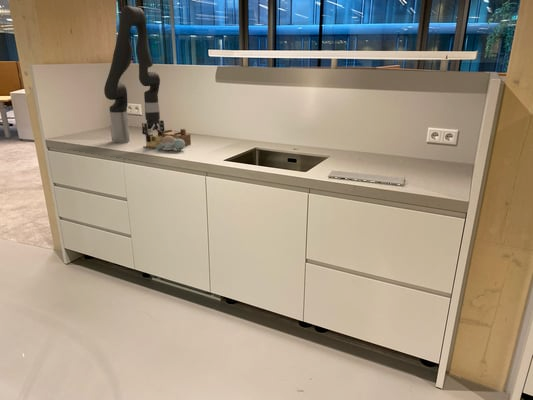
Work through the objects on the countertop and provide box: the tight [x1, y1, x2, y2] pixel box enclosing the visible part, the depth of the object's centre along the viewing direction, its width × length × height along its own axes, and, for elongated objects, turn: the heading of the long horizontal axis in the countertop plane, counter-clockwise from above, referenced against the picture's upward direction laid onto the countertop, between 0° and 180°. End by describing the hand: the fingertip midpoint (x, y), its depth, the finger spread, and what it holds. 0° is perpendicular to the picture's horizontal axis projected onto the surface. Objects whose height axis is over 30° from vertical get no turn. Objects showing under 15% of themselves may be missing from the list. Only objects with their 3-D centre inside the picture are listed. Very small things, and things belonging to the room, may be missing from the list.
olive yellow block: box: [145, 133, 163, 148], centre depth 224 cm, size 8×5×7 cm, turn 60°
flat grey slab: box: [327, 169, 405, 186], centre depth 175 cm, size 31×3×12 cm
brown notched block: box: [162, 128, 192, 147], centre depth 233 cm, size 15×8×9 cm, turn 60°
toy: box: [156, 136, 186, 152], centre depth 218 cm, size 12×10×15 cm
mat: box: [143, 145, 158, 151], centre depth 226 cm, size 10×8×1 cm
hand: (154, 140), depth 225 cm, fingers open, 8 cm apart
